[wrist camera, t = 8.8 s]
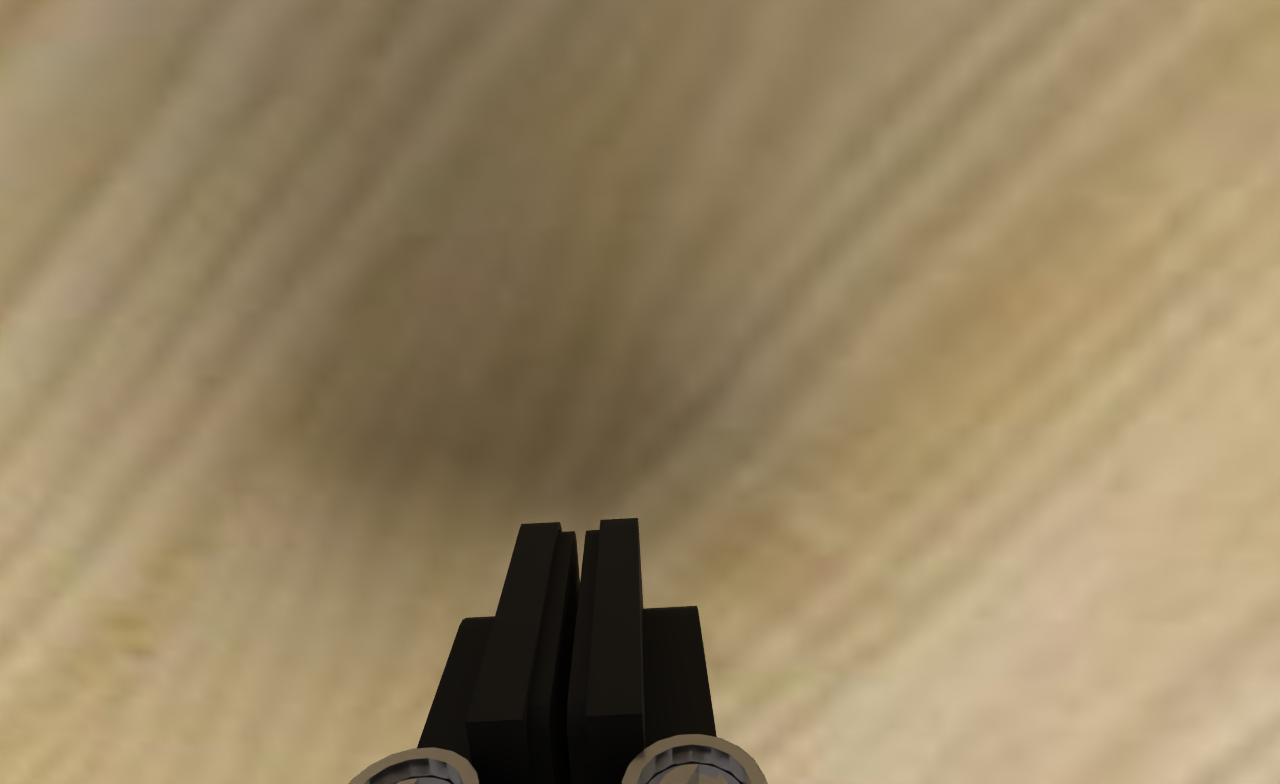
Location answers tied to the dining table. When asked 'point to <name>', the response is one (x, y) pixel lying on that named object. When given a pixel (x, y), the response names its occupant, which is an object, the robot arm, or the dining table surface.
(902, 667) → the dining table surface
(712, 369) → the dining table surface
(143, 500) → the dining table surface
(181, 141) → the dining table surface
